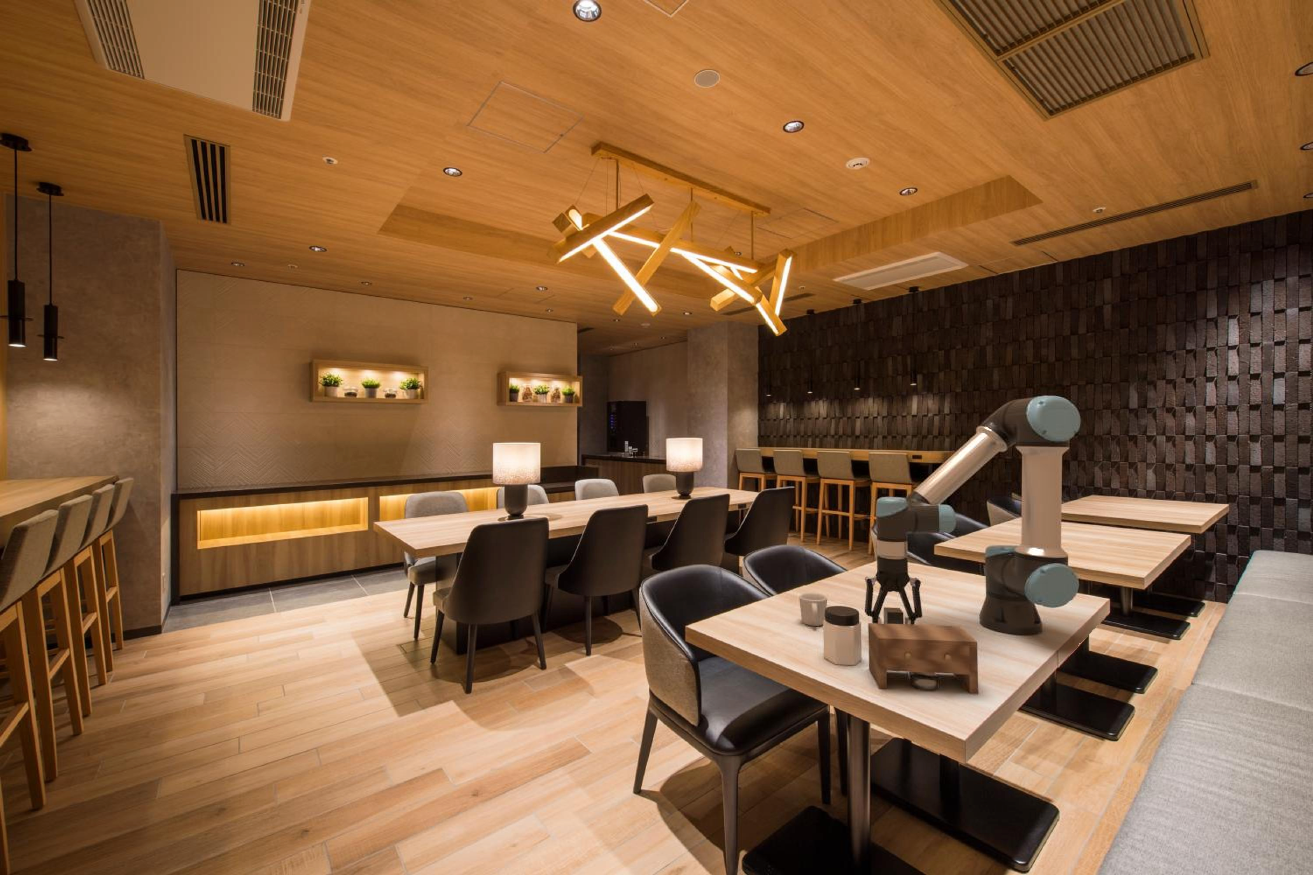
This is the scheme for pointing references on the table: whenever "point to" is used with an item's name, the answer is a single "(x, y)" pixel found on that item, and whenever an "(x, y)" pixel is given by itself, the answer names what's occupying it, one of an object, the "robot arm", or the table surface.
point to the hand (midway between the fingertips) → (893, 642)
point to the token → (924, 681)
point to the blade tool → (893, 616)
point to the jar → (842, 635)
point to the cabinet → (922, 652)
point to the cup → (813, 608)
